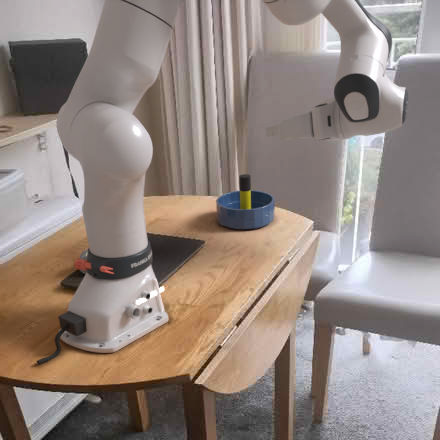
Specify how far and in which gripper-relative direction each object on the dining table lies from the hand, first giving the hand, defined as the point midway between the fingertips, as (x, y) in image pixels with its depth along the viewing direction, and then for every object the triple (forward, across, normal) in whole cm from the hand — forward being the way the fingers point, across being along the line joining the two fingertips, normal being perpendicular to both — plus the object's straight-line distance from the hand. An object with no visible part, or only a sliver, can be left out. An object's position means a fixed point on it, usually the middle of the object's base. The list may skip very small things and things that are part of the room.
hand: (274, 129), depth 136 cm
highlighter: (+14, -6, +20) cm, 26 cm away
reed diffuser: (+37, +28, +21) cm, 51 cm away
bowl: (+14, -6, +21) cm, 26 cm away
